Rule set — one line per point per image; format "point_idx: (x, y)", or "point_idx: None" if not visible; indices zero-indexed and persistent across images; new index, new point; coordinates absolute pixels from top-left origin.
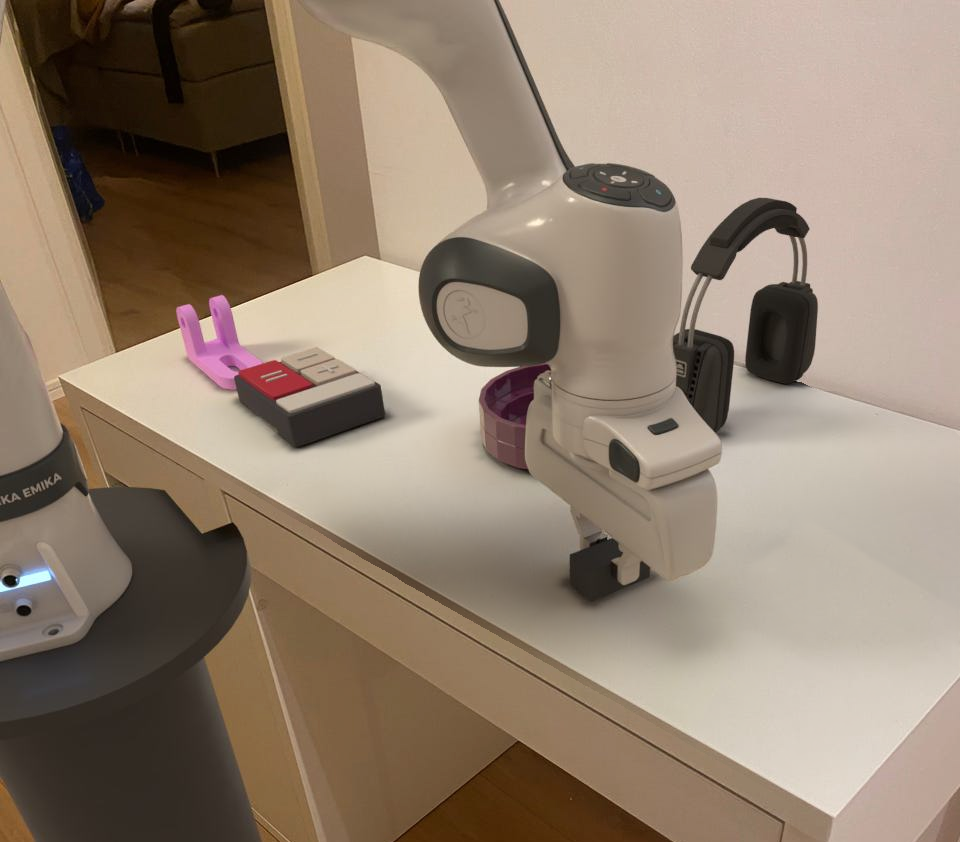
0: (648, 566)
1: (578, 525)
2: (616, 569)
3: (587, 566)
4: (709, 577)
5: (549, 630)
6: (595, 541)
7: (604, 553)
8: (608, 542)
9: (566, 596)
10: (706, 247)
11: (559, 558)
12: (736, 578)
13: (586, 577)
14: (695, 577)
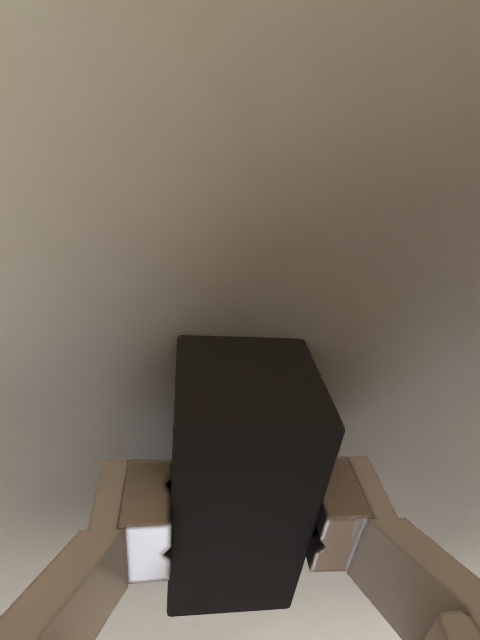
0: None
1: (425, 561)
2: (128, 504)
3: (218, 440)
4: None
5: (111, 93)
6: (319, 534)
7: (244, 519)
8: (289, 551)
9: (257, 292)
10: None
11: (423, 385)
12: None
13: (204, 396)
14: None
